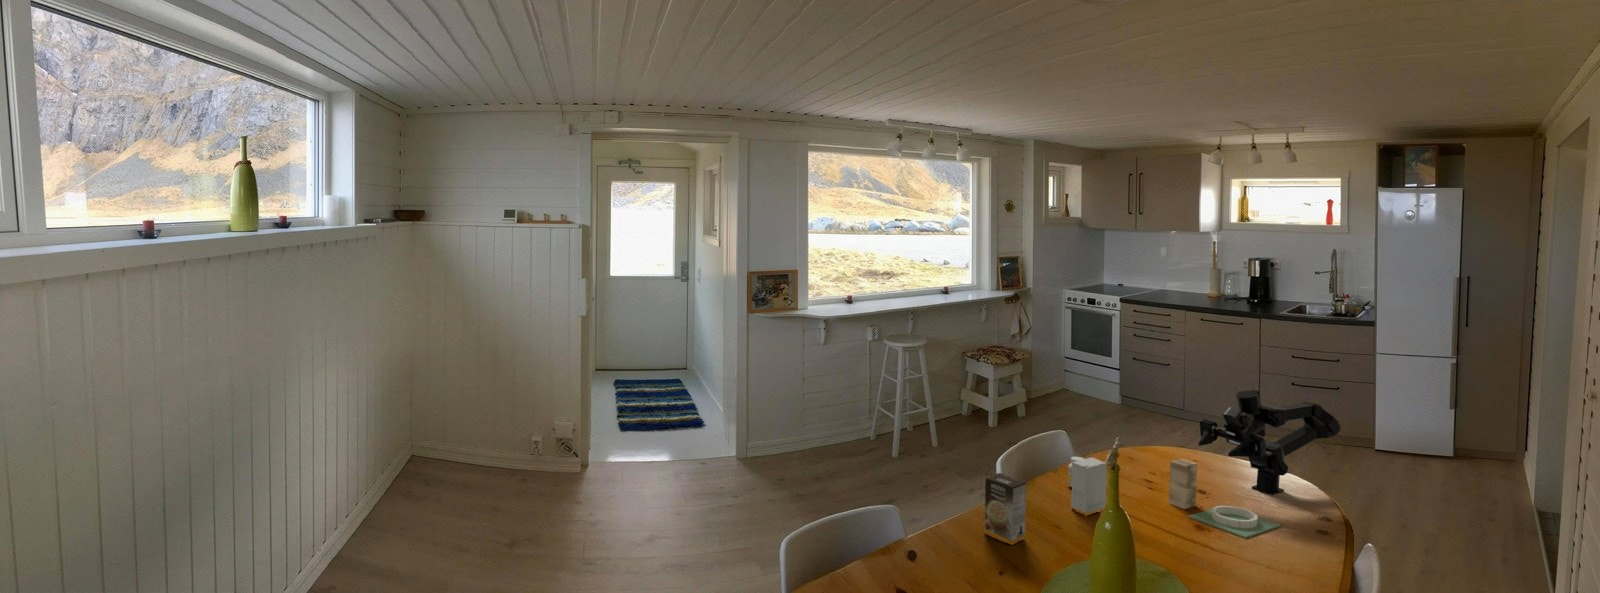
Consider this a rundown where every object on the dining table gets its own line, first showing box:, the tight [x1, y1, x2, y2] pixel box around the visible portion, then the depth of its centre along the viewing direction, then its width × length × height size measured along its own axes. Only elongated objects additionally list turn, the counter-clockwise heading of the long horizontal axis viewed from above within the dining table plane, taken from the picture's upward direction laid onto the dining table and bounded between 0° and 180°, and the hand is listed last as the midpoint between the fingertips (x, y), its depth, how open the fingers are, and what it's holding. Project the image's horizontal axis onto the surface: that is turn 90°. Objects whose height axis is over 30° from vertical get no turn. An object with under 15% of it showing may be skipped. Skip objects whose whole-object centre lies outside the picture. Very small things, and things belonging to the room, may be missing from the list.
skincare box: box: [1070, 457, 1108, 513], centre depth 211 cm, size 8×6×15 cm
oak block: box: [1168, 458, 1198, 510], centre depth 215 cm, size 5×5×13 cm
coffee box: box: [984, 472, 1027, 541], centre depth 193 cm, size 9×6×16 cm
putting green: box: [1188, 505, 1282, 539], centre depth 202 cm, size 16×16×2 cm
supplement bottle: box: [1067, 456, 1085, 486], centre depth 230 cm, size 5×5×10 cm
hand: (1213, 449), depth 214 cm, fingers open, 9 cm apart
